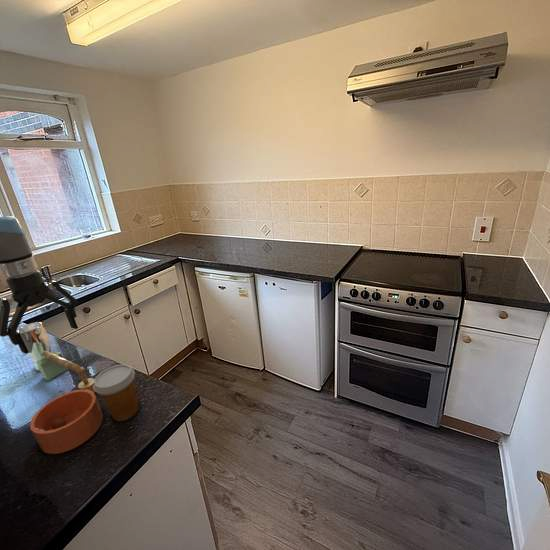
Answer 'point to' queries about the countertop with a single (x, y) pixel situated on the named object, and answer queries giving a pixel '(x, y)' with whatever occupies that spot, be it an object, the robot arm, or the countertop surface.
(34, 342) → the beer glass
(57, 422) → the meatball
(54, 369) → the pale green box
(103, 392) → the disposable coffee cup
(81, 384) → the ladle
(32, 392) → the countertop surface
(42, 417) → the bowl
